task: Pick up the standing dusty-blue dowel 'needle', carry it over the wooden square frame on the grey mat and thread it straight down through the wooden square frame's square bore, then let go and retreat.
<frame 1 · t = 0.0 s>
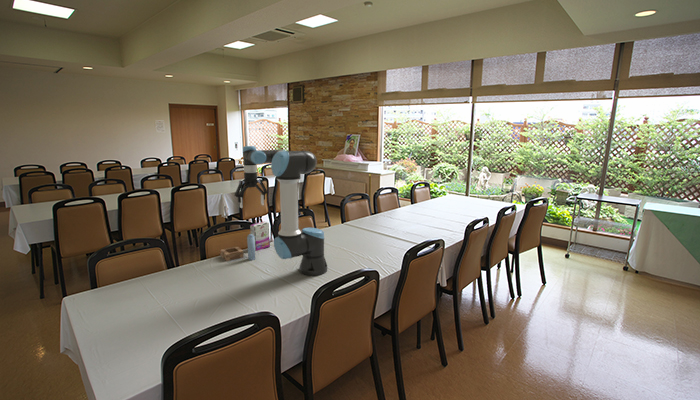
hand: (252, 206, 212), 28 cm above the table, fingers open, 13 cm apart
candy bar box: (260, 248, 220), on the table
mat: (233, 257, 205), on the table
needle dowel: (251, 259, 202), on the table
wooden square frame: (232, 256, 204), resting on mat
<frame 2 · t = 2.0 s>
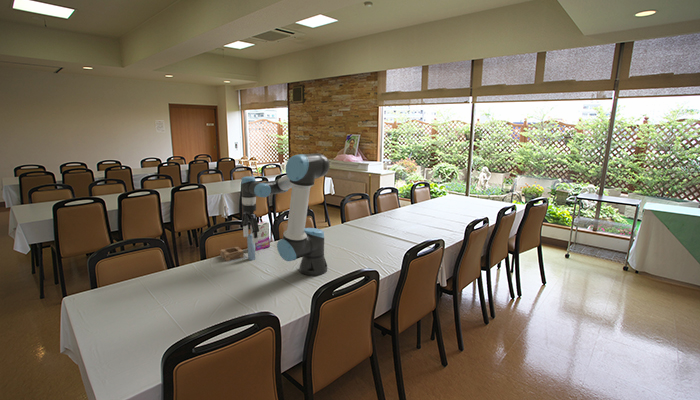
hand: (250, 239, 199), 12 cm above the table, fingers open, 13 cm apart
nothing on the table moved.
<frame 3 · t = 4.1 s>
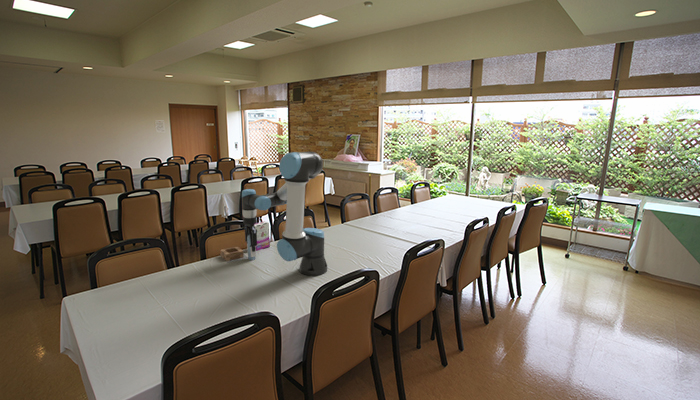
hand: (251, 255, 201), 3 cm above the table, fingers closed on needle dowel, 4 cm apart
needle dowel: (251, 259, 202), on the table, touching gripper
everything else where it was.
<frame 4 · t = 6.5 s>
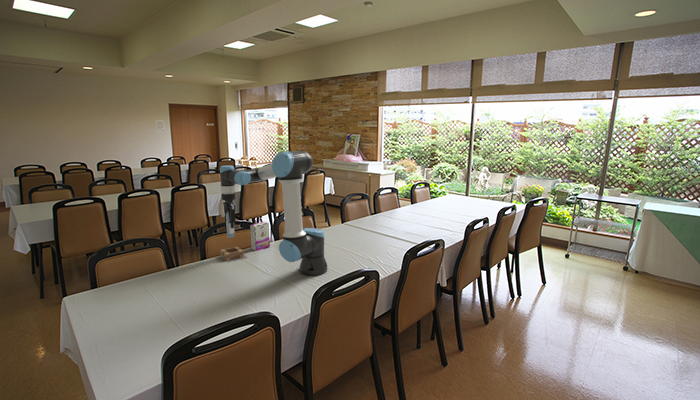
hand: (230, 232, 201), 16 cm above the table, fingers closed on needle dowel, 4 cm apart
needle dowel: (230, 236, 202), point 13 cm above the table, touching gripper
everything else where it was.
when the fingers open (6 cm above the table, at t = 9.2 s): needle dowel drops 2 cm, resting on mat.
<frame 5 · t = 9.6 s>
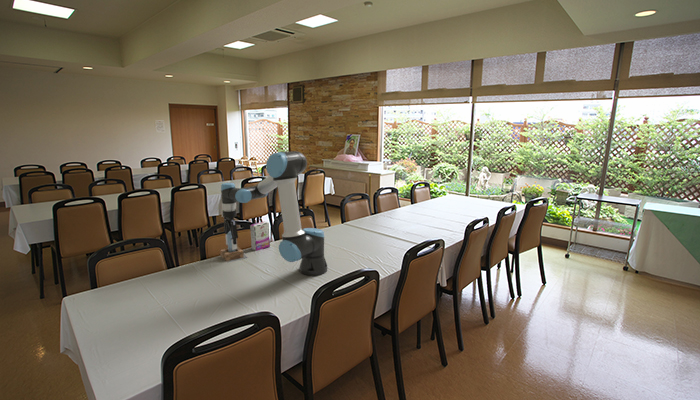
hand: (231, 246, 203), 7 cm above the table, fingers open, 9 cm apart
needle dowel: (232, 256, 204), resting on mat
everything else where it was.
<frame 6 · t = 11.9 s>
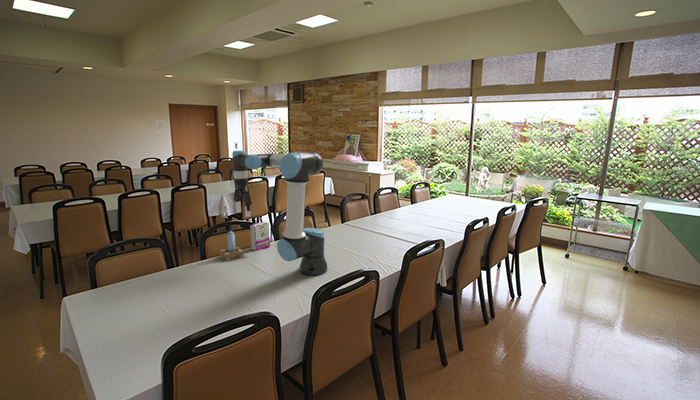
hand: (243, 214, 200), 26 cm above the table, fingers open, 13 cm apart
nothing on the table moved.
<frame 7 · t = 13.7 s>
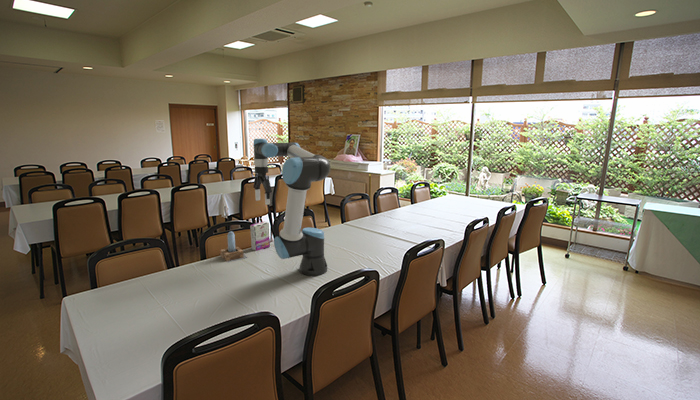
hand: (262, 202, 202), 33 cm above the table, fingers open, 13 cm apart
nothing on the table moved.
at the end: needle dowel 0.0 cm off-centre on the wooden square frame, point 0.0 cm above the wooden square frame's base; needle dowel tilted 0°; the gripper is holding nothing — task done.
